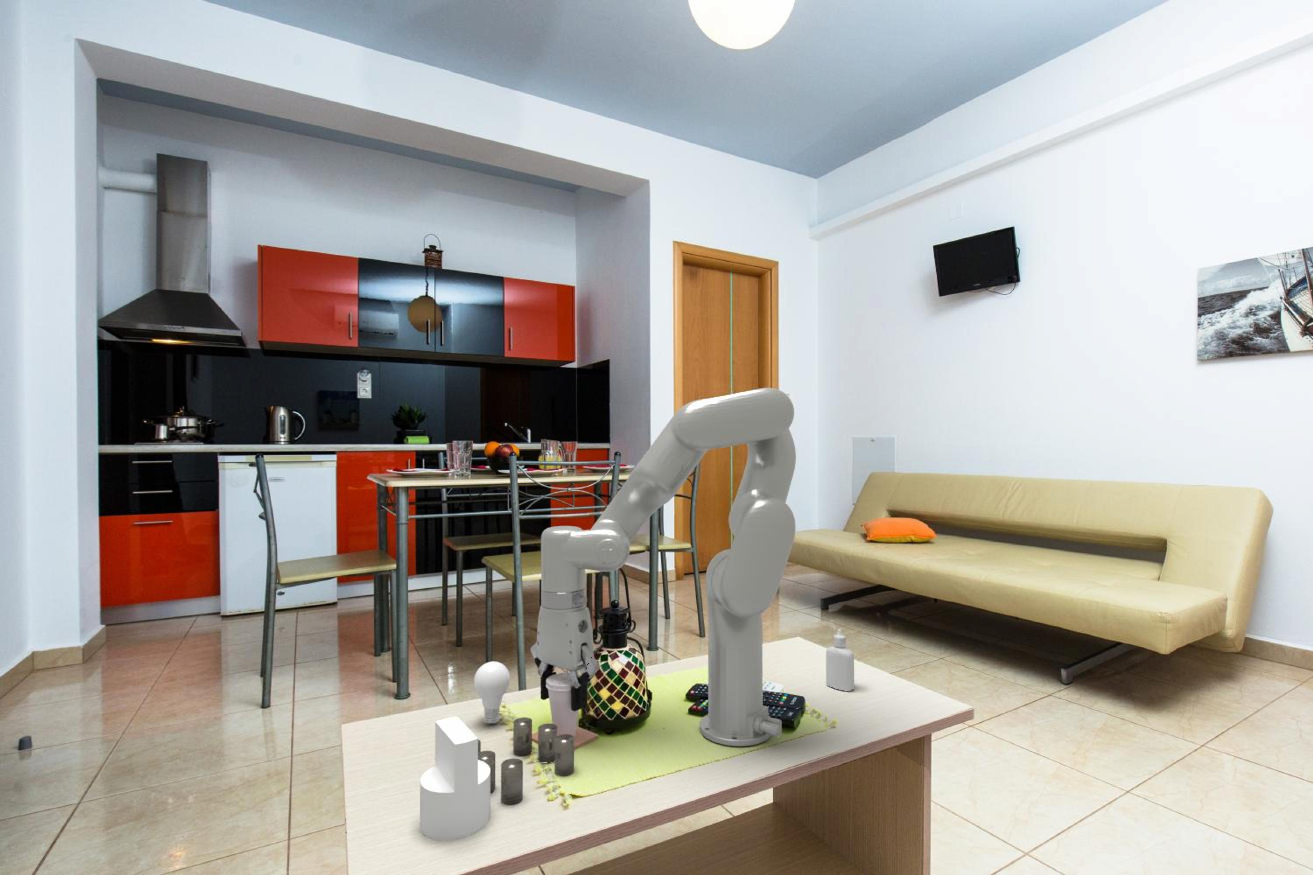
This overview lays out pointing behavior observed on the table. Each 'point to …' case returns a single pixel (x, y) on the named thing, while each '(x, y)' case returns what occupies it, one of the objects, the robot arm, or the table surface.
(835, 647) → the eye dropper bottle
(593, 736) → the tile
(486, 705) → the lightbulb
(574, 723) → the smoothie
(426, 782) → the base with upright slab
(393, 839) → the table surface
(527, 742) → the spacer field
